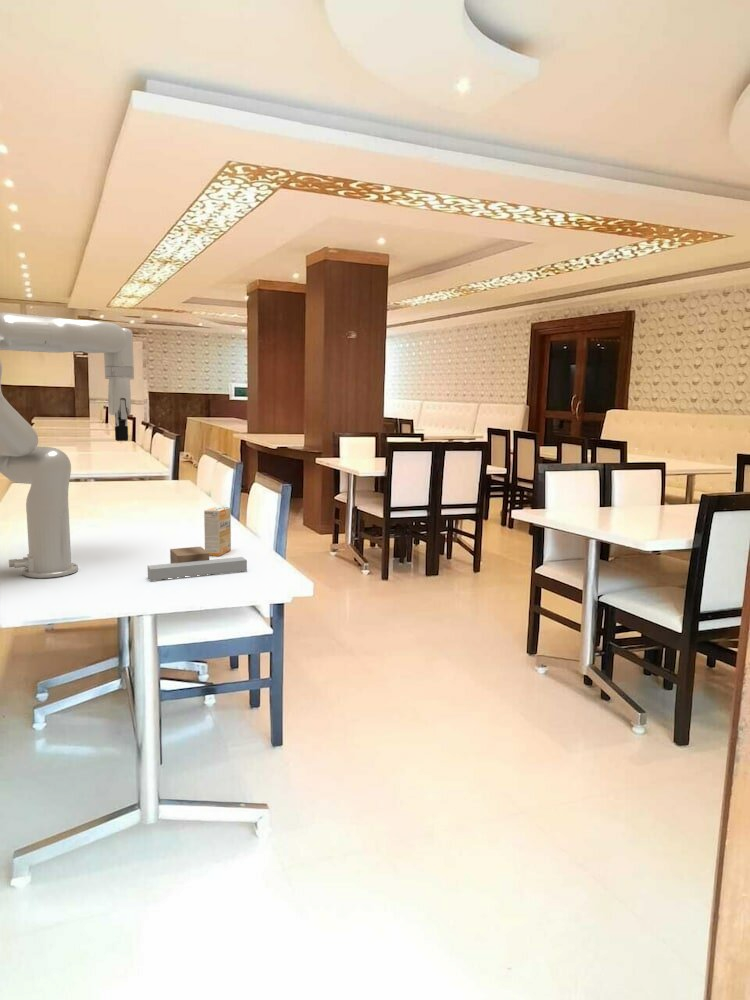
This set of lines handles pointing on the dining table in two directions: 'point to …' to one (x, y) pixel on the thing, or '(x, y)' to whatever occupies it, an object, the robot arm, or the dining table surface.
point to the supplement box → (217, 530)
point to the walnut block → (188, 554)
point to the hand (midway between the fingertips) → (121, 440)
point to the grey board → (197, 568)
